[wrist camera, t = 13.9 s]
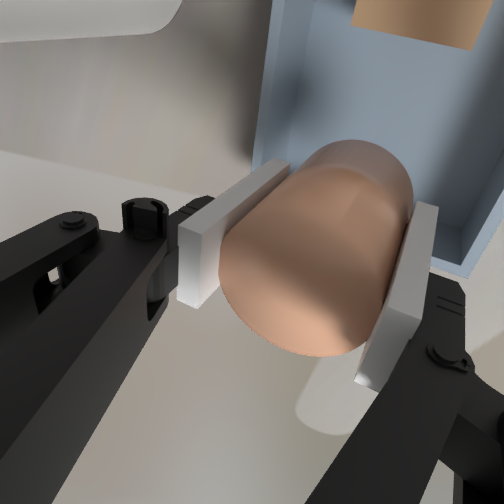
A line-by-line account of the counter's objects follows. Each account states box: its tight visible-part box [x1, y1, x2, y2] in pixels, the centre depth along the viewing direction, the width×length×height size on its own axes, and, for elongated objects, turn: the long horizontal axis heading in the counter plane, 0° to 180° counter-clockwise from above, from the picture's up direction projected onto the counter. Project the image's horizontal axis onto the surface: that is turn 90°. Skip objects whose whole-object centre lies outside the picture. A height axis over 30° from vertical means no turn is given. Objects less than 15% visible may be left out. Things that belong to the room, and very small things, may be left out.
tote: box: [250, 0, 504, 279], centre depth 19 cm, size 17×13×5 cm
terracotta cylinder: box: [218, 139, 414, 357], centre depth 14 cm, size 5×5×7 cm
